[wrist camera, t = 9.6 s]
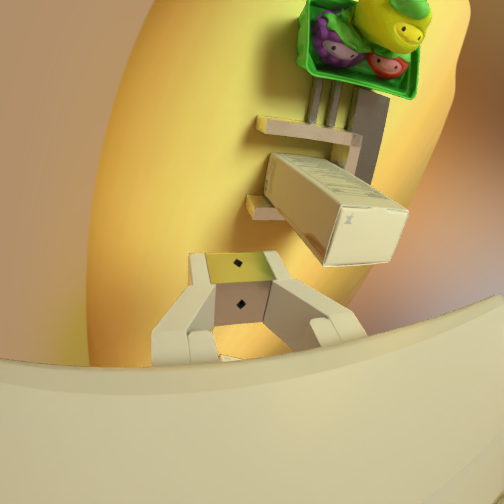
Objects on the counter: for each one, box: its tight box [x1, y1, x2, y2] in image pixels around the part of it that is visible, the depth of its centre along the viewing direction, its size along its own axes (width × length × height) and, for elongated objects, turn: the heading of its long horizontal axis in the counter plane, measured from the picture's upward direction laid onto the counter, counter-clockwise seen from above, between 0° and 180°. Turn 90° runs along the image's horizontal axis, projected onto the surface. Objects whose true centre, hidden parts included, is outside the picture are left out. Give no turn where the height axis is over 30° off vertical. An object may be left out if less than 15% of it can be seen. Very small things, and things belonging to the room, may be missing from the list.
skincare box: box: [264, 153, 409, 267], centre depth 22 cm, size 6×4×12 cm
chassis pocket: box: [245, 76, 390, 220], centre depth 25 cm, size 18×13×3 cm
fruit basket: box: [296, 0, 432, 100], centre depth 15 cm, size 11×9×11 cm
